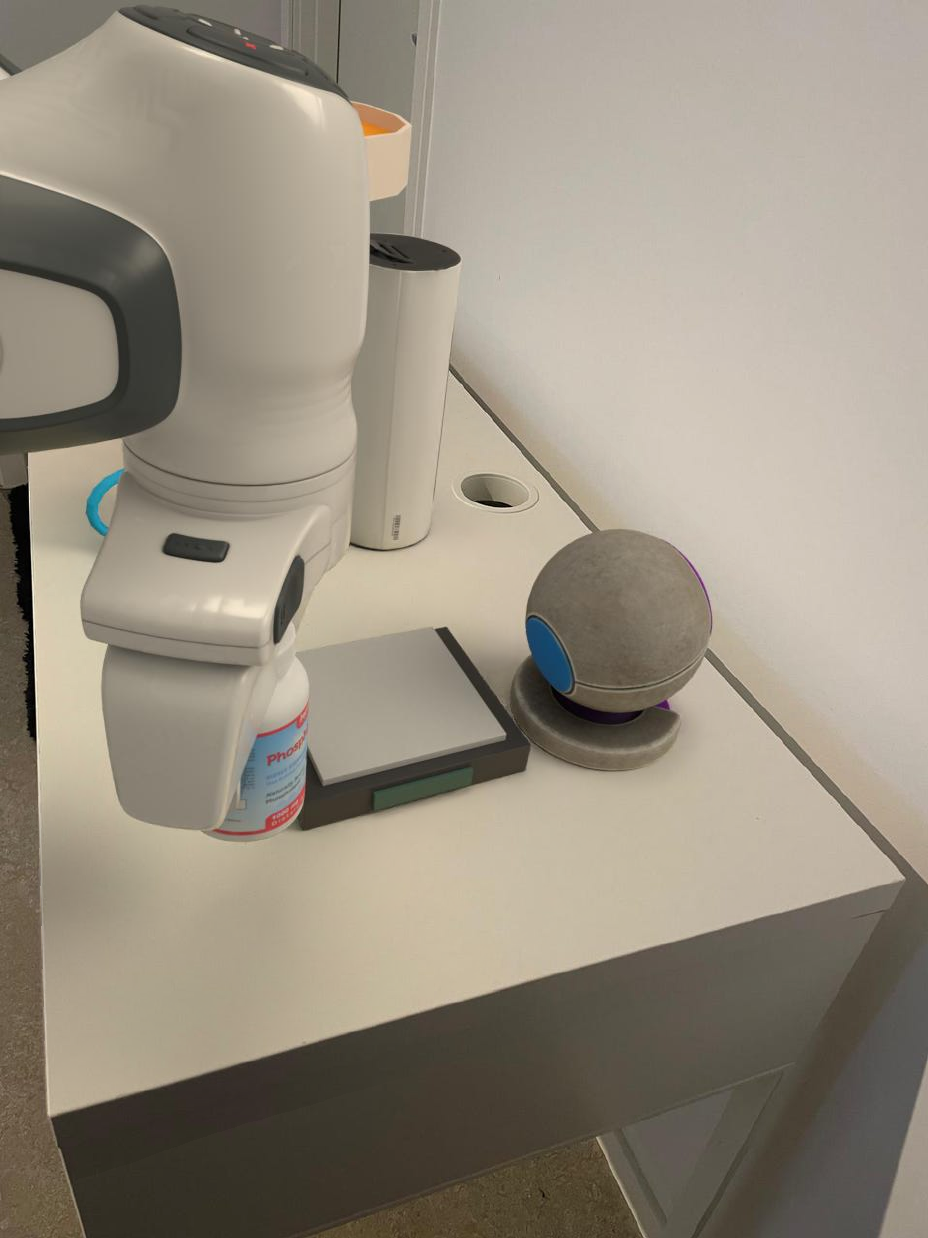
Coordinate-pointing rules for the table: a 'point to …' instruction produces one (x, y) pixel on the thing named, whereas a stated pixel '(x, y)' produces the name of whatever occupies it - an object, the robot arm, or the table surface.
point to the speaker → (402, 388)
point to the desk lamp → (385, 150)
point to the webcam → (610, 649)
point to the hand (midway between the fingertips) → (244, 744)
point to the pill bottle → (275, 757)
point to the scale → (400, 725)
